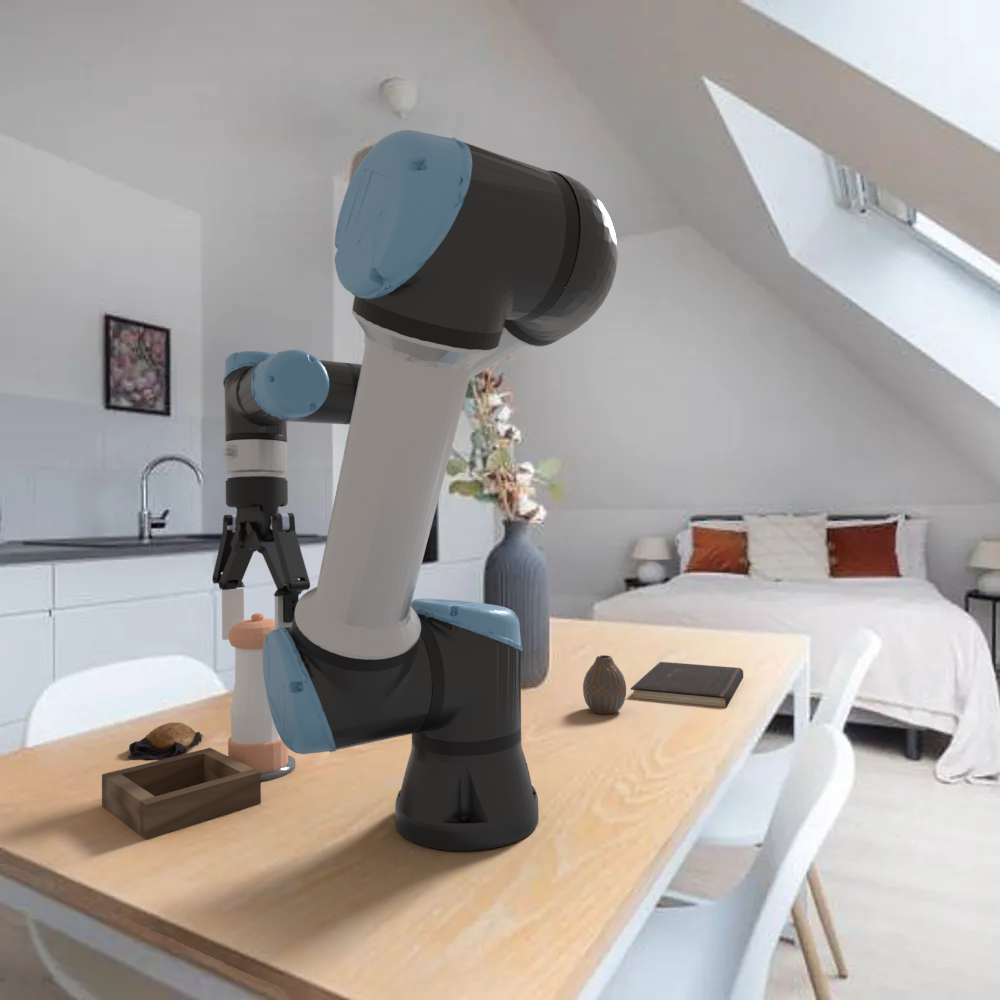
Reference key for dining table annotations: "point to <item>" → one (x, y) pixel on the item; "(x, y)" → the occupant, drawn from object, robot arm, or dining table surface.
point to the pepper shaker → (253, 701)
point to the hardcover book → (689, 684)
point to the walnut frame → (180, 791)
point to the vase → (604, 686)
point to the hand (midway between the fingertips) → (258, 644)
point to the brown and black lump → (165, 742)
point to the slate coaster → (279, 770)
